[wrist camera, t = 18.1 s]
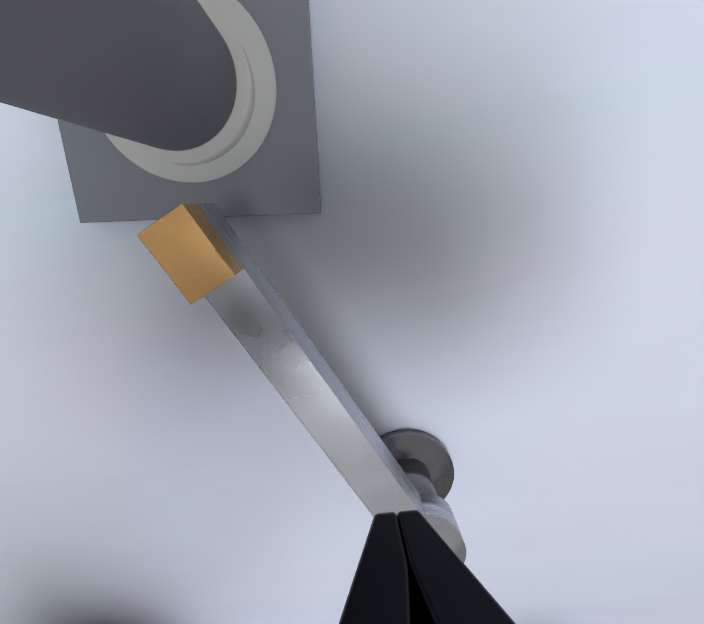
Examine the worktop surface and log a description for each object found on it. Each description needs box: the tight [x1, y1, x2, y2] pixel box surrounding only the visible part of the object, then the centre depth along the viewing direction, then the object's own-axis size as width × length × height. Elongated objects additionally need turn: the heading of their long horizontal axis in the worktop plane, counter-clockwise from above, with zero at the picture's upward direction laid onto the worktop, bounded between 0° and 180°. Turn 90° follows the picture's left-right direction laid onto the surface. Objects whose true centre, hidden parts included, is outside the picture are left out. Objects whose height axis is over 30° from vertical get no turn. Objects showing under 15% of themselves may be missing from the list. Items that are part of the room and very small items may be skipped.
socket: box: [58, 0, 321, 223], centre depth 16 cm, size 10×10×1 cm
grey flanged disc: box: [380, 429, 454, 499], centre depth 20 cm, size 5×5×3 cm
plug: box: [0, 0, 255, 165], centre depth 9 cm, size 6×6×13 cm
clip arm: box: [137, 203, 466, 563], centre depth 15 cm, size 18×3×3 cm, turn 32°
